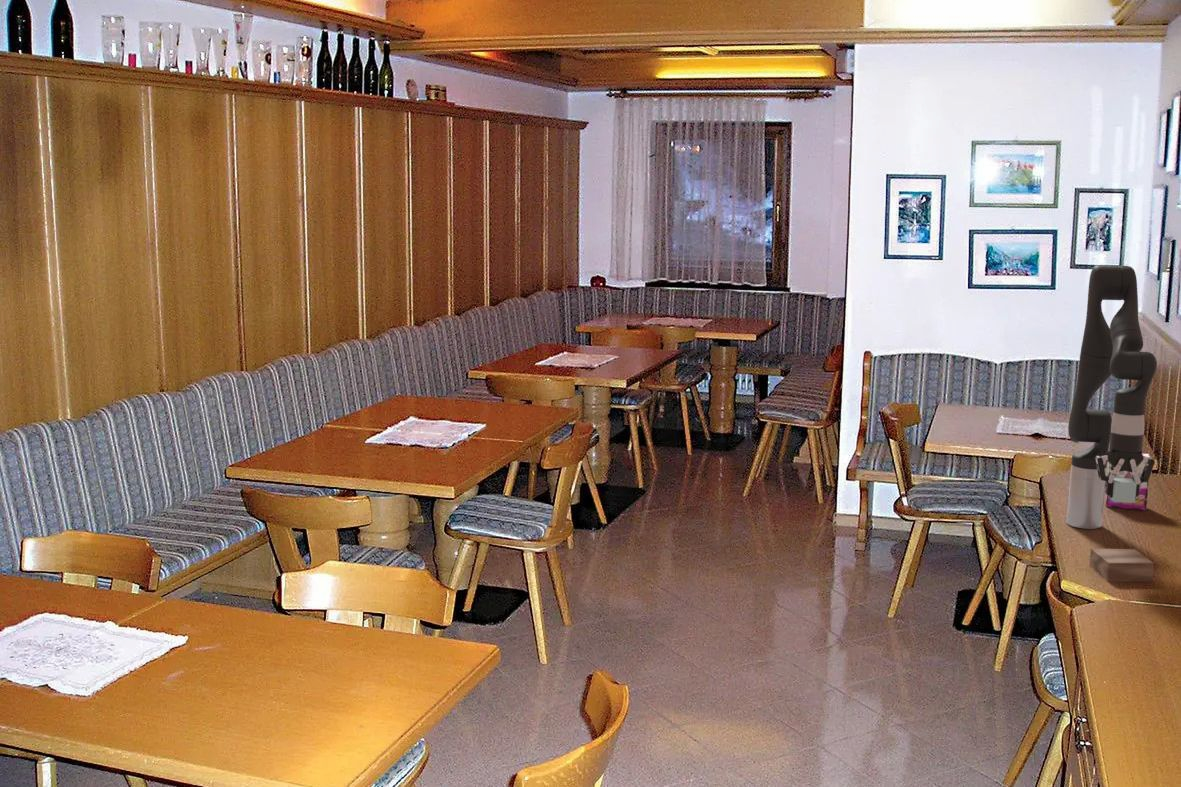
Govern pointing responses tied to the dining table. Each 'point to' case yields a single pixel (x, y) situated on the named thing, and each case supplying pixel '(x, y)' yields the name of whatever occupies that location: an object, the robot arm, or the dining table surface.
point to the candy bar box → (1140, 500)
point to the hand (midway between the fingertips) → (1121, 497)
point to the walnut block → (1121, 565)
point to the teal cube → (1124, 490)
